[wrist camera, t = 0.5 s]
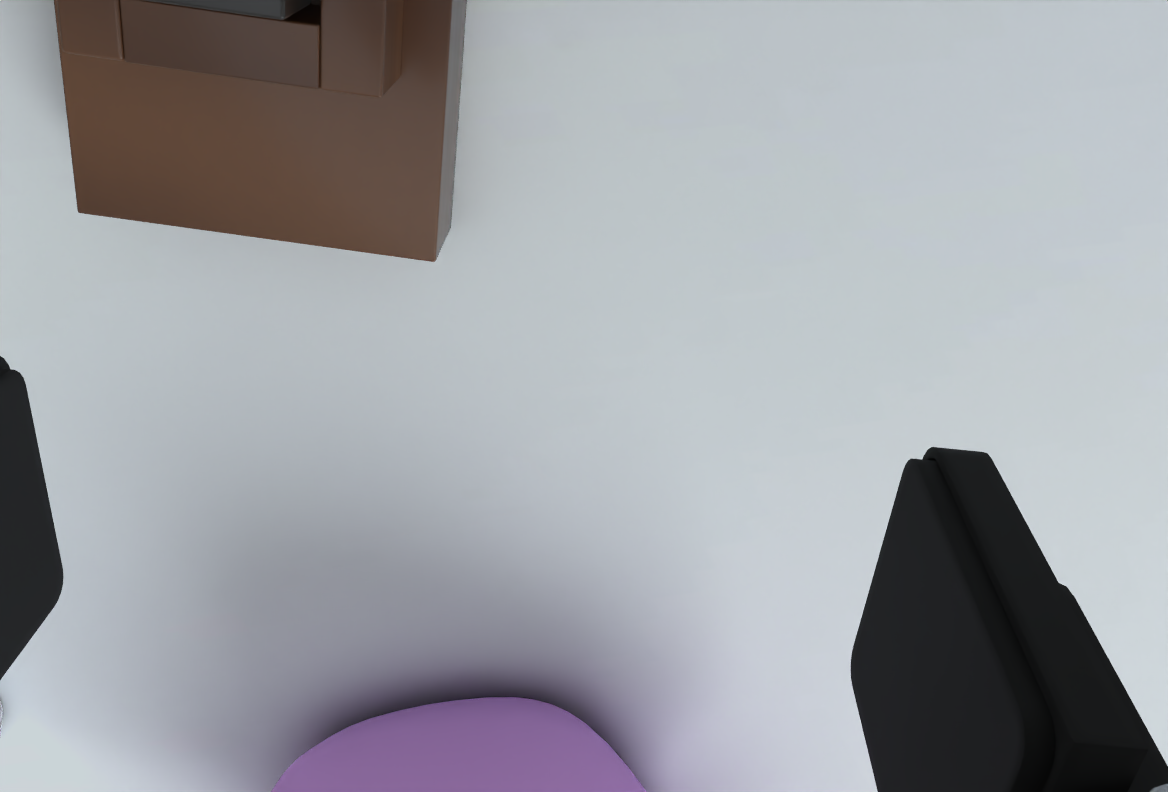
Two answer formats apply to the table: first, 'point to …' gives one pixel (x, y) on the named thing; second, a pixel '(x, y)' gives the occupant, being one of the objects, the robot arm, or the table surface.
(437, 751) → the teapot
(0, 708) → the white bracket holder
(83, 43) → the key block
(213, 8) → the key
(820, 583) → the table surface
